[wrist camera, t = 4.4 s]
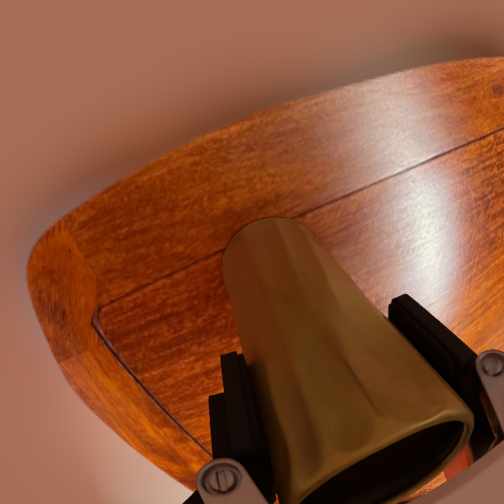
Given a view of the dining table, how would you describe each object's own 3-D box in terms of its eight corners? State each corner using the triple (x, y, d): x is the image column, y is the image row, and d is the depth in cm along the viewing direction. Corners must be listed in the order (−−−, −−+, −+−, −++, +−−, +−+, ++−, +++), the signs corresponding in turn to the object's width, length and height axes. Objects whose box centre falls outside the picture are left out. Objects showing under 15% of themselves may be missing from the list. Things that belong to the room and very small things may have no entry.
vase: (330, 289, 20) (465, 465, 6) (241, 323, 20) (296, 544, 6) (306, 201, 17) (513, 344, 4) (205, 238, 17) (218, 488, 4)
